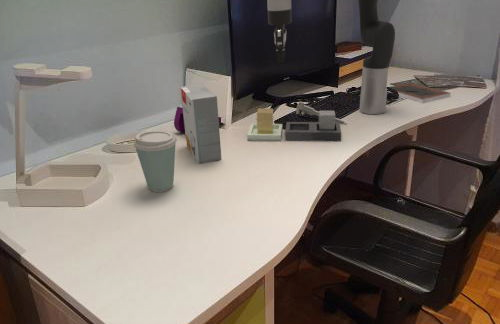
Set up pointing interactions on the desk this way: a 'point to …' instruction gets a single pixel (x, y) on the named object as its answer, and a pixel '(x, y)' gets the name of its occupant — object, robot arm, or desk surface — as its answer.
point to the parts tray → (275, 136)
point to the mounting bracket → (182, 120)
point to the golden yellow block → (265, 121)
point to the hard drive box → (201, 122)
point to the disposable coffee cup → (157, 158)
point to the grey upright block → (326, 120)
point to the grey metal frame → (310, 132)
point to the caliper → (313, 112)
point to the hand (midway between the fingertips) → (281, 59)
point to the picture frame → (420, 92)
